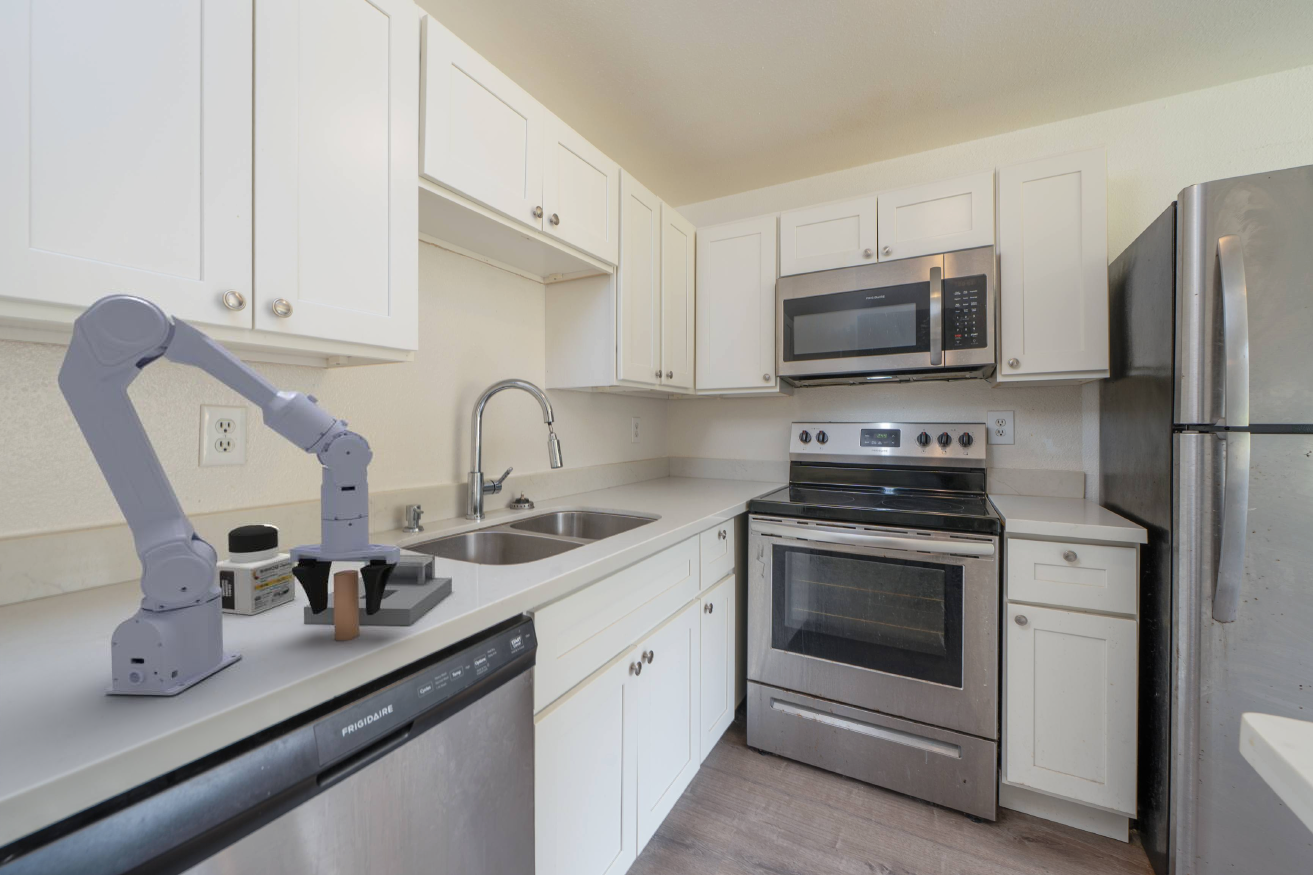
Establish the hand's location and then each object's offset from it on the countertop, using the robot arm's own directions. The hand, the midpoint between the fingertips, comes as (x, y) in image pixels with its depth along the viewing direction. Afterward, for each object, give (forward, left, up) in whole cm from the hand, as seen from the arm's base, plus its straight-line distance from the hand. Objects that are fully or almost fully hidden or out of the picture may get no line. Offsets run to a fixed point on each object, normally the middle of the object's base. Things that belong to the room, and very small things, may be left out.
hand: (346, 612), depth 73 cm
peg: (0, 0, -3) cm, 3 cm away
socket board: (+12, +1, -3) cm, 12 cm away
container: (+11, +22, -4) cm, 25 cm away
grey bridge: (+17, +1, -1) cm, 17 cm away
